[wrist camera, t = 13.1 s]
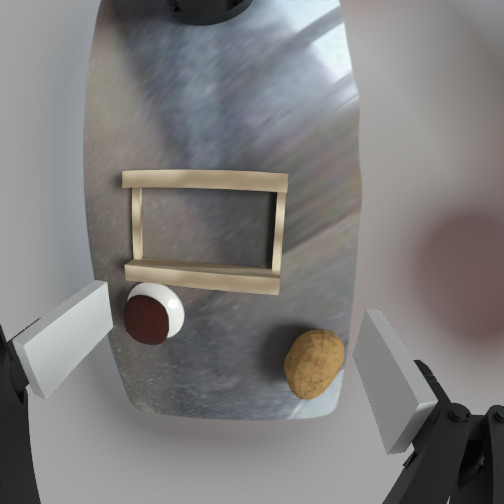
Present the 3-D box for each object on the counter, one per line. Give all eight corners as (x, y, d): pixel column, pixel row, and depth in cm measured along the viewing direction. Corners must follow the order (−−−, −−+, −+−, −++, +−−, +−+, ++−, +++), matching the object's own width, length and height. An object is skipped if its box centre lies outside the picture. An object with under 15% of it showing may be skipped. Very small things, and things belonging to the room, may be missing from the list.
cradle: (135, 171, 42) (122, 171, 38) (286, 174, 41) (288, 173, 36) (137, 271, 46) (125, 279, 42) (278, 283, 45) (278, 294, 41)
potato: (276, 377, 50) (276, 405, 42) (291, 313, 46) (294, 338, 38) (326, 381, 49) (331, 409, 42) (347, 319, 46) (358, 344, 38)
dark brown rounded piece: (158, 279, 46) (139, 297, 38) (186, 324, 47) (172, 348, 40) (125, 296, 47) (103, 314, 40) (152, 338, 49) (135, 361, 41)
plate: (126, 277, 47) (124, 279, 46) (183, 284, 46) (182, 286, 45) (132, 331, 50) (131, 333, 49) (186, 340, 49) (185, 342, 48)
